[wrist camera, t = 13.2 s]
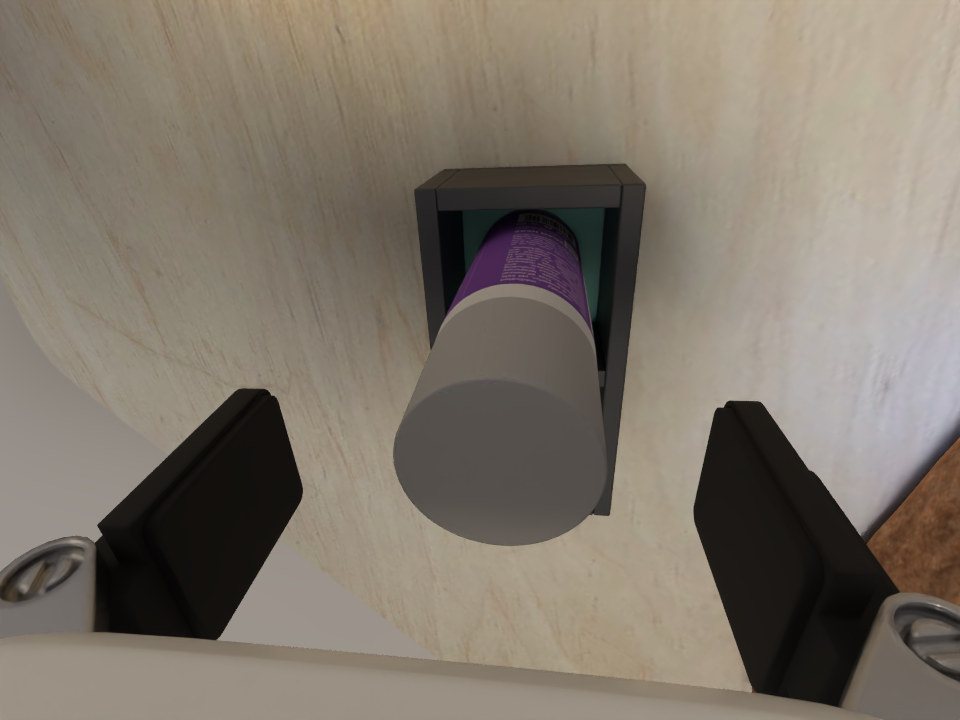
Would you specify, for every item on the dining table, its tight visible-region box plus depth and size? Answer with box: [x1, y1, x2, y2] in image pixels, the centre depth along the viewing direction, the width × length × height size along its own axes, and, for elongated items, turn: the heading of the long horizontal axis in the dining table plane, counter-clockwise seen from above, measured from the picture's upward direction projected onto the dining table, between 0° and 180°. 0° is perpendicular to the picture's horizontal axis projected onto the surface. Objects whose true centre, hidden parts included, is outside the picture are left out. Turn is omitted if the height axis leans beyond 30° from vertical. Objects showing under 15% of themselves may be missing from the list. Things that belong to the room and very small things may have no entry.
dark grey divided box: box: [414, 164, 646, 516], centre depth 23 cm, size 8×15×6 cm, turn 2°
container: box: [393, 209, 608, 546], centre depth 17 cm, size 5×5×15 cm
